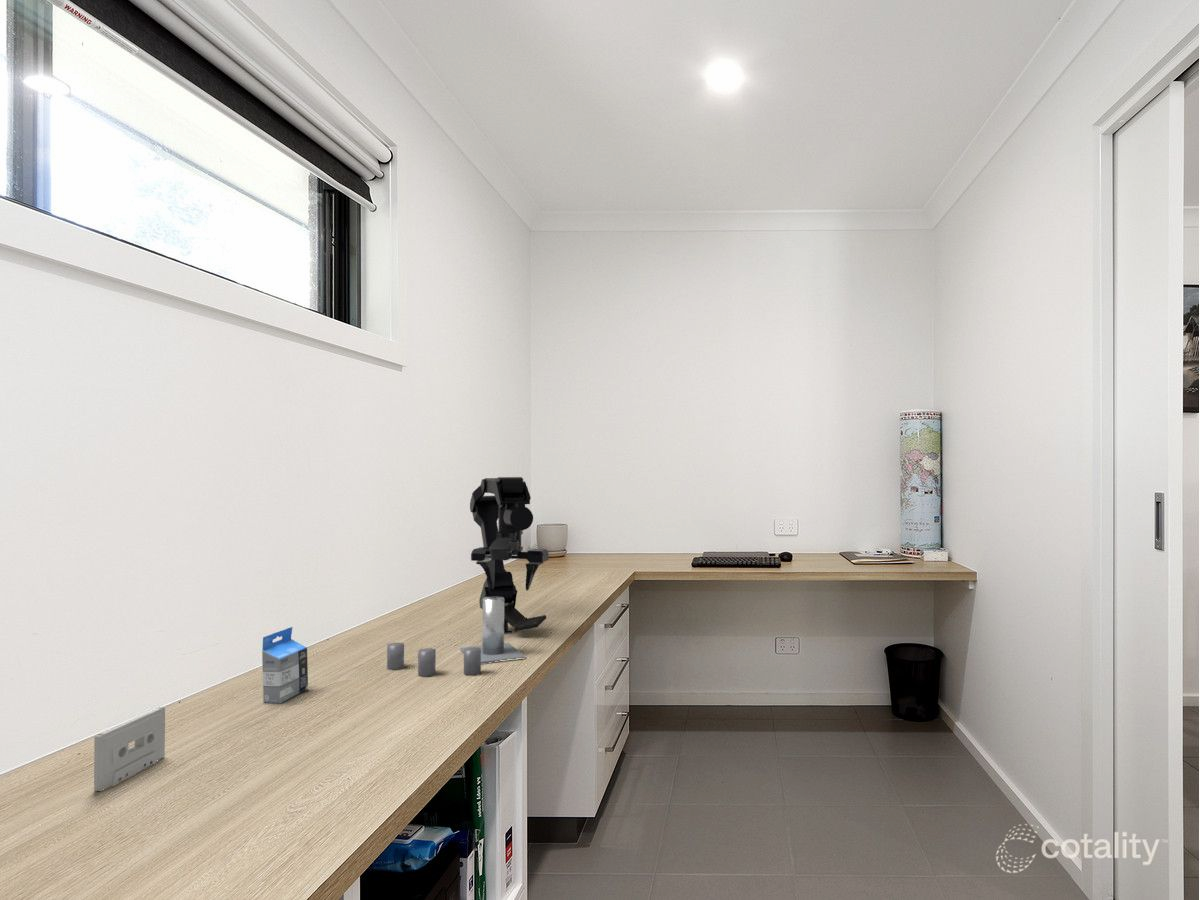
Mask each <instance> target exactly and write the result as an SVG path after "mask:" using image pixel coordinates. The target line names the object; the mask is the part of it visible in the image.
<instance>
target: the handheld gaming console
mask: <svg viewBox="0 0 1200 900" xmlns="http://www.w3.org/2000/svg"><path fill="white" fill-rule="evenodd" d="M504 619H505V620H506V621H507V622H508V625H510V626H511V627H512V628H514V631H515V633H516V632H521V631H526V630H531V629H535V628H538V627H539V626H540V625H541V624H542V623H543V622H544V621H545V620H546V619H547V615H546V614H543V615H539V616H533V617H529V618H528V617H526V616H524V614H522V613H521V612H520V611H519V610H518V609H516V607H515V608H508V609H507V608H506V610H505V609H504Z"/></svg>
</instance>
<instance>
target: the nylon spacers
mask: <svg viewBox="0 0 1200 900" xmlns="http://www.w3.org/2000/svg"><path fill="white" fill-rule="evenodd" d="M470 647H471V648H466V649H464V654H463V675H464V676H468V675H473V676H477V674H479V675H481V673H482V664H481V649H480V648H477V647H473V646H470ZM436 652H437V651H436V648H429V647H427V648H421V649H418V651H417V655H418V656H417V660H418V661H417V675H418V676H419V677H422V678H423V677H424V678H427V677H428V676H429V677H433V676H435V675H436V674H437V673H436V671H437V669H436V666H437V665H436V662H437V661H436V660H437V656H436ZM404 668H405V643H404V642H391V643H388V644H386V669H387V670H389V671H395V670H401V669H404ZM429 677H428V678H429Z"/></svg>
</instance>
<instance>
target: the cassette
mask: <svg viewBox="0 0 1200 900" xmlns="http://www.w3.org/2000/svg"><path fill="white" fill-rule="evenodd" d="M93 742H94V744H93V745H94V746H93V747H94V752H93V753H94V756H93V760H94V764H93V765H94V768H93V772H94V773H93V777H94V778H93V791H94V792H97V791H101V792H103V791H104V790H103V789H105V788H107V789H109V788H111V787H110V786H113V787H115V786H116V784H117V783H119V782H120V783H122V782H124V781H126V780H127V779H126V778H128V779H130V778H131V777H130V776H132V777H133V776H135V775H137V774H138V773H137V772H139V773H140V771H141V770H143V769H145V768H146V769H148V768H150V767H151V765H152V764H154V763H156V762H158V761H157V760H159V759H161V758H163V757H164V758H165V756H166V754H165V753H166V708H165V707H161V706H160V707H159V706H158V707H156V708H154V709H152V710H149V711H147V712H145V713H143V714H141V715H138V716H136V717H133V718H132V719H130V720H127V721H125V722H122V723H120V724H118V725H115V726H113V727H111V728H109V729H106V730H103V731H102V732H99V733H98V734H96V735H95V736H94V740H93ZM133 742H134V745H133V746H131V747H129V744H130V743H133ZM164 758H163V759H164ZM161 760H162V759H161ZM159 761H160V760H159ZM156 764H157V763H156ZM154 765H155V764H154ZM149 766H150V767H149ZM152 766H153V765H152ZM147 767H148V768H147ZM146 769H145V770H146ZM143 771H144V770H143ZM141 772H142V771H141ZM136 773H137V774H136ZM134 774H135V775H134ZM129 777H130V778H129ZM125 779H126V780H125ZM123 780H124V781H123ZM121 781H122V782H121ZM120 783H119V784H120ZM114 785H115V786H114ZM117 785H118V784H117ZM108 787H109V788H108ZM102 790H103V791H102ZM105 790H106V789H105Z"/></svg>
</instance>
